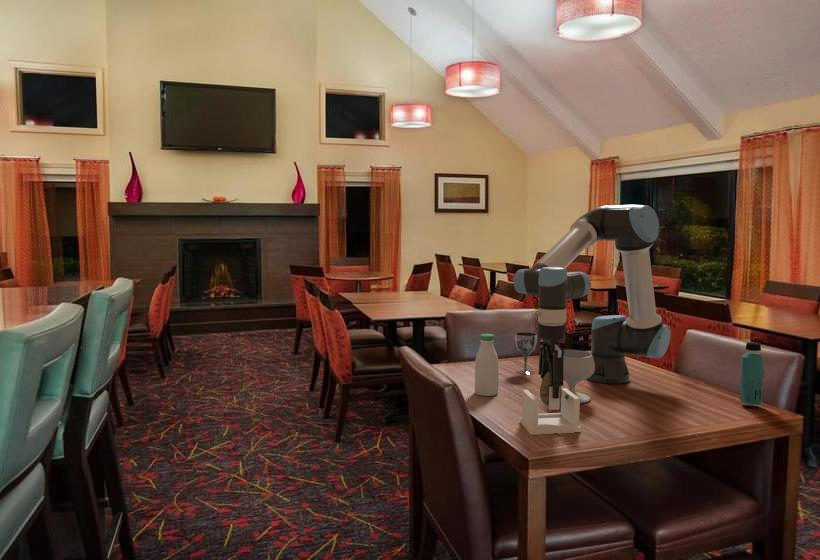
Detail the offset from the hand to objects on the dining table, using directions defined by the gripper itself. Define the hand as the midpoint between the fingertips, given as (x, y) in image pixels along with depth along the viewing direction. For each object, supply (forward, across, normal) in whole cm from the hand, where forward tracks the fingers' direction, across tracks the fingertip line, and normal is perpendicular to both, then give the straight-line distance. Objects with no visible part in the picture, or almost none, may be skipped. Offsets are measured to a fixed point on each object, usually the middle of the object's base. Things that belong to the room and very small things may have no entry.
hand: (549, 405), depth 166 cm
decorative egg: (0, 0, 0) cm, 0 cm away
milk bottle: (+6, -34, -10) cm, 36 cm away
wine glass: (+6, -59, +11) cm, 60 cm away
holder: (+6, 0, 0) cm, 6 cm away
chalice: (+6, -25, +16) cm, 30 cm away
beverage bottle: (+6, -11, +68) cm, 69 cm away
